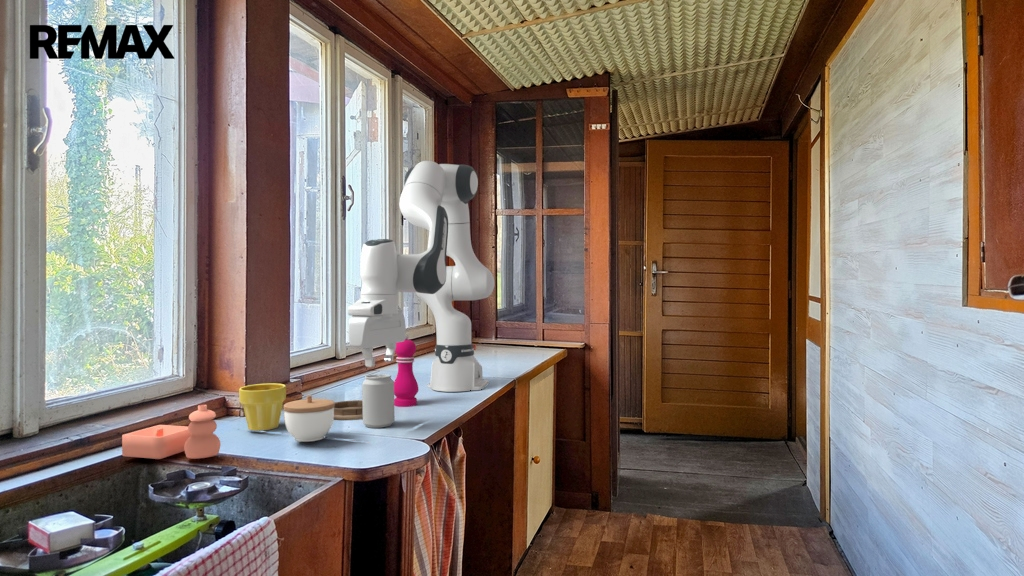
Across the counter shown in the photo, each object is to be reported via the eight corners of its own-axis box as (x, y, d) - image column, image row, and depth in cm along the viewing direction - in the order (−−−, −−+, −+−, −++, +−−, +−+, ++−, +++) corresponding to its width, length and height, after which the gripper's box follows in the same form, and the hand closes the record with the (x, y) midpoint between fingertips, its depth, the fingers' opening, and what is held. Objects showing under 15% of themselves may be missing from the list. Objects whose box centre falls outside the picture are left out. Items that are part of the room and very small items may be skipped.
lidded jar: (283, 435, 142) (283, 393, 142) (332, 431, 146) (332, 390, 146) (284, 446, 132) (283, 401, 132) (337, 441, 136) (336, 398, 136)
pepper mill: (416, 407, 174) (415, 334, 174) (389, 407, 174) (389, 334, 174) (420, 402, 181) (420, 332, 181) (395, 402, 181) (395, 332, 181)
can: (356, 426, 150) (355, 376, 150) (377, 420, 157) (376, 372, 157) (380, 429, 146) (379, 378, 147) (401, 423, 153) (400, 374, 153)
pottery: (122, 456, 126) (122, 406, 126) (159, 444, 135) (159, 398, 135) (198, 462, 121) (198, 411, 121) (232, 449, 130) (232, 402, 130)
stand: (344, 407, 173) (344, 398, 173) (388, 411, 169) (388, 401, 169) (311, 417, 160) (311, 408, 160) (359, 421, 156) (359, 411, 156)
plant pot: (236, 434, 143) (235, 391, 143) (242, 424, 153) (242, 384, 153) (284, 431, 146) (284, 389, 146) (287, 422, 156) (287, 382, 156)
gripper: (390, 304, 162) (390, 358, 162) (343, 308, 143) (343, 369, 143) (412, 305, 160) (412, 359, 160) (367, 308, 141) (367, 370, 141)
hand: (379, 364), depth 151 cm, fingers open, 7 cm apart
